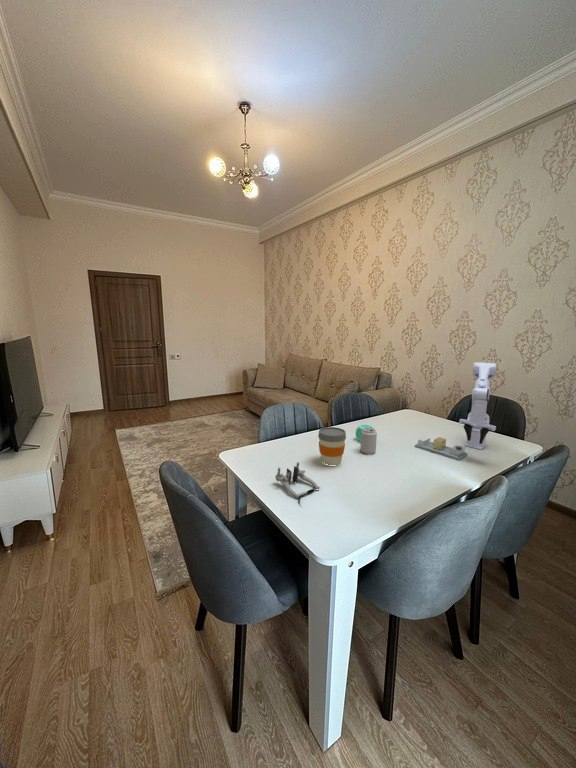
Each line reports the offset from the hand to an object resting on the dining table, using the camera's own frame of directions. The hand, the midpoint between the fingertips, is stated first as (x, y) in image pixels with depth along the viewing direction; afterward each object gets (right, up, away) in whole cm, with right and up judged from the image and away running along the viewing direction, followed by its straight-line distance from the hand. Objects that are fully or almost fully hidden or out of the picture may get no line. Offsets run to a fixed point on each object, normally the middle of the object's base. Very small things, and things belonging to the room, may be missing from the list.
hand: (474, 441), depth 144 cm
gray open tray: (-10, -7, +13) cm, 18 cm away
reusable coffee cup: (-67, -10, 0) cm, 68 cm away
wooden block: (-10, -6, +13) cm, 18 cm away
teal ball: (-44, -5, +27) cm, 52 cm away
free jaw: (-5, -7, +7) cm, 11 cm away
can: (-47, -7, +11) cm, 49 cm away
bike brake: (-82, -14, -24) cm, 87 cm away
